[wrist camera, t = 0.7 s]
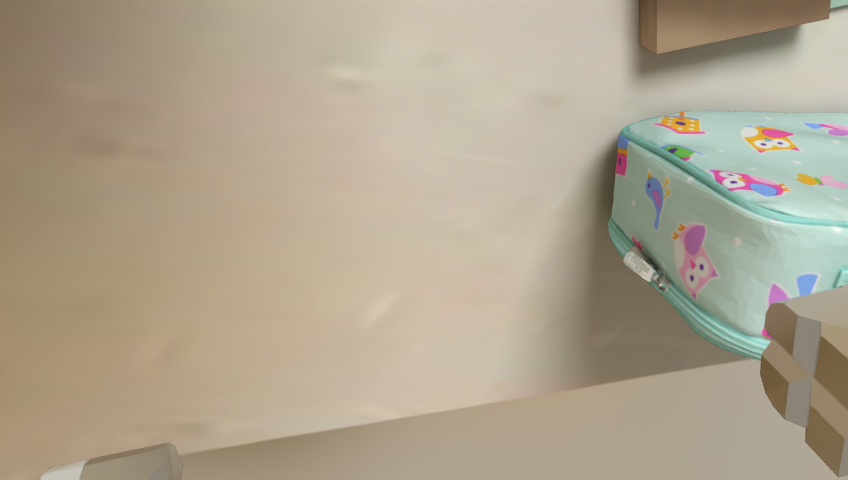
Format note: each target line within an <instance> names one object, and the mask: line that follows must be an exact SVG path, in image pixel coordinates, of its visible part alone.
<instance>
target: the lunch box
mask: <svg viewBox="0 0 848 480" xmlns="http://www.w3.org/2000/svg"><path fill="white" fill-rule="evenodd" d="M608 227H609V228H608V230H609V234H610V238H611V241H612V243H613V245H614V247H615V248H616V250H617V251H618V253H619V254H620V256H621V257H622V258H623V263H624V264H625V265H626V266H627V267H628V268H629V269H630V270H632V271H633V272H635V273H636V274H637V275H639V276H640V277H641V278H643V279H644V280H646V281H647V282H648V283H649V284H650V285H651V286H652V287H653V288H655V289H656V290H657V291H658V292H659V293H660V294H661V295H662V296H663V297H664V298H665V299H666V300H667V301H668V302H669V303H670V304H671V305H672V306H673V307H674V308H675V309H676V310H677V311H678V313H679V314H680V315H681V316H682V317H683V318H684V319H685V321H686V322H687V323H688V324H689V325H690V326H691V327H692V328H693V330H694V331H695V332H696V333H698V334H699V335H700V336H702V337H703V338H704V339H706V340H707V341H709V342H711V343H713V344H714V345H716V346H718V347H721V348H723V349H725V350H728V351H731V352H733V353H736V354H739V355H742V356H745V357H749V358H753V359H757V360H761V354H762V353H763V351H764V350H765V349H766V347H767V346H768V345H769V343H770V342H771V341H772V339H773V338H772V337H771V336H770V335H769V334H768V332H767V331H766V330H765V329H764V324H765V315H766V312H767V310H768V308H769V306H770V305H771V303H774V302H779V301H783V300H787V299H791V298H795V297H800V296H804V295H808V294H812V293H816V292H821V291H825V290H829V289H833V288H838V287H839V286H842V285H846V284H848V113H780V112H739V111H686V112H678V113H673V114H669V115H665V116H661V117H655V118H651V119H646V120H642V121H639V122H636V123H633V124H630V125H628V126H626V127H625V128H624V129H623V130H622V131H621V132H620V133H619V139H618V156H617V162H616V174H615V186H614V199H613V207H612V216H611V218H610V219H609V221H608Z"/></svg>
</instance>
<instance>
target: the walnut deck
mask: <svg viewBox="0 0 848 480" xmlns="http://www.w3.org/2000/svg"><path fill="white" fill-rule="evenodd" d="M830 4H831V0H640V46H642V47H644V48H646V49H648V50H650V51H652V52H654V53H656V54H660V53H665V52H670V51H675V50H679V49H684V48H689V47H694V46H699V45H704V44H709V43H713V42H718V41H723V40H728V39H733V38H738V37H743V36H747V35H752V34H757V33H762V32H767V31H772V30H777V29H781V28H786V27H791V26H796V25H801V24H806V23H811V22H815V21H820V20H825V19H829V13H830Z"/></svg>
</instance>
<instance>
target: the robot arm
mask: <svg viewBox="0 0 848 480" xmlns="http://www.w3.org/2000/svg"><path fill="white" fill-rule="evenodd" d="M764 329H765V330H766V331H767V332H768V334H769V335H770V336H771V337H772V338H773V339H772V341H771V342H770V343H769V345H768V346H767V347H766V349H765V350H764V351H763V353H762V354H761V370H760V375H761V378H762V382H763V385H764V389H765V393H766V394H767V396H768V398H769V400H770V401H771V403H772V405H773V406H774V408H775V409H776V410H777V411H778V412H779V413H780V414H781V416H782V417H783V418H784V419H786V420H788V421H790V422H793V423H795V424H797V425H800V426H802V427H805V428H806V439H805V442H806V443H807V444H808V445H809V446H810V447H811V448H812V450H813V451H814V452H815V453H816V454H817V455H818V456H819V457H820V458H821V459H822V460H823V461H824V463H825V464H826V465H827V466H828V467H829V468H830V469H831V470H832V471H833V472H834V473H835V474H836V475H837V477H842V476H847V475H848V284H846V285H842V286H839V287H838V288H833V289H829V290H825V291H821V292H816V293H812V294H808V295H804V296H800V297H795V298H791V299H787V300H783V301H779V302H774V303H771V305H770V306H769V308H768V310H767V312H766V315H765V324H764ZM182 469H183V463H182V461H181V459H180V457H179V454H178V452H177V450H176V448H175V446H174V445H172V444H170V443H169V442H168V443H164V444H159V445H154V446H149V447H144V448H140V449H135V450H130V451H125V452H120V453H116V454H111V455H106V456H101V457H97V458H92V459H90V460H85V461H80V462H75V463H71V464H66V465H62V466H57V467H52V468H49V469H48V470H47V471H46V472H45V473H44V474H43V475H42V476H41V478H40V480H181V477H182Z"/></svg>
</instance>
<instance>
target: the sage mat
mask: <svg viewBox="0 0 848 480" xmlns="http://www.w3.org/2000/svg"><path fill="white" fill-rule="evenodd" d="M844 5H848V0H831V4H830V8H834V7H839V6H844Z"/></svg>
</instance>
